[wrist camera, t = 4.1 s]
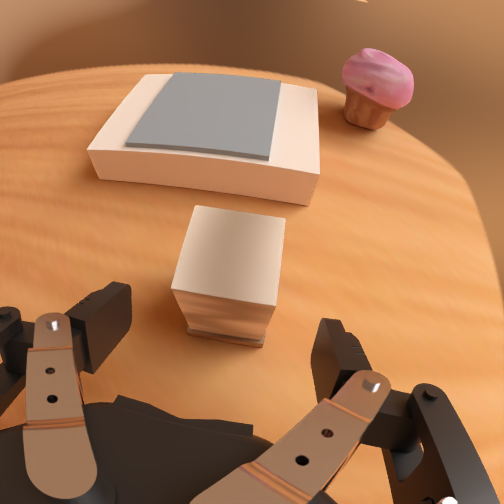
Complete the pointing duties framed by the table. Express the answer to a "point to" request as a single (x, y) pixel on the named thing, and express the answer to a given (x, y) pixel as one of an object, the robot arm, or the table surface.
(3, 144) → the table surface
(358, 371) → the robot arm
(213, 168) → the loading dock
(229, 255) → the memo note cube
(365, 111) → the cupcake
